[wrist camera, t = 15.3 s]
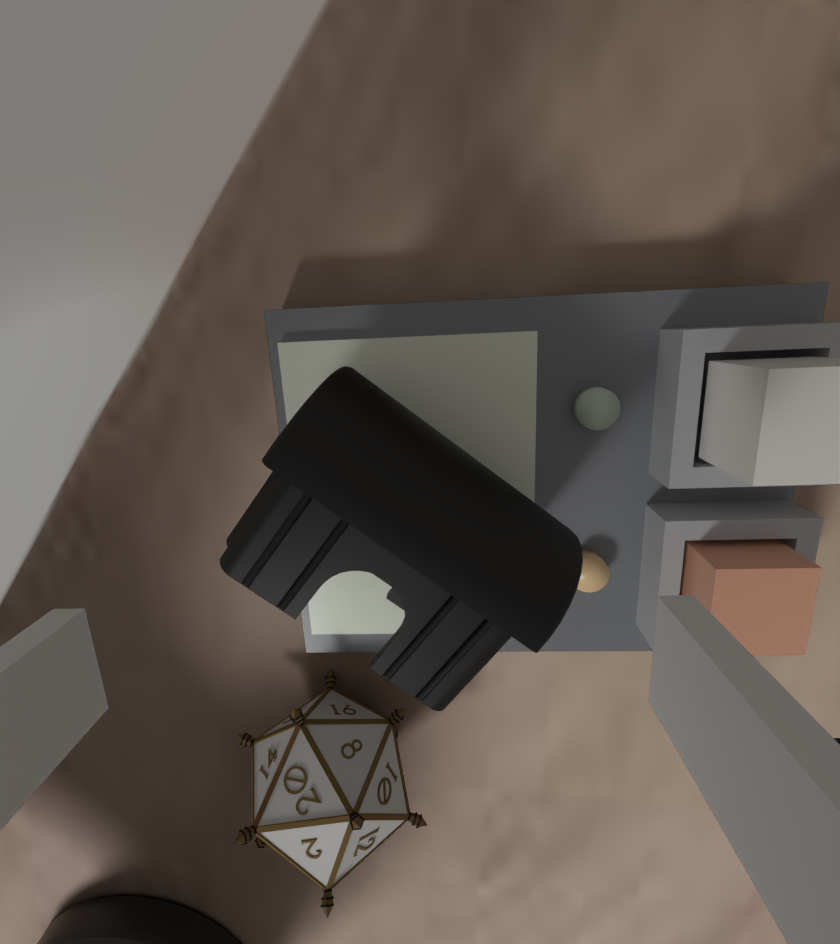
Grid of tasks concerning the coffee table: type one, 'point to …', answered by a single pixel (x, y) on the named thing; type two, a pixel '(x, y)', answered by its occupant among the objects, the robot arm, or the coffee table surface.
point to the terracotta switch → (754, 591)
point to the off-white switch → (773, 420)
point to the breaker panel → (567, 430)
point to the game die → (327, 787)
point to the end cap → (404, 536)
